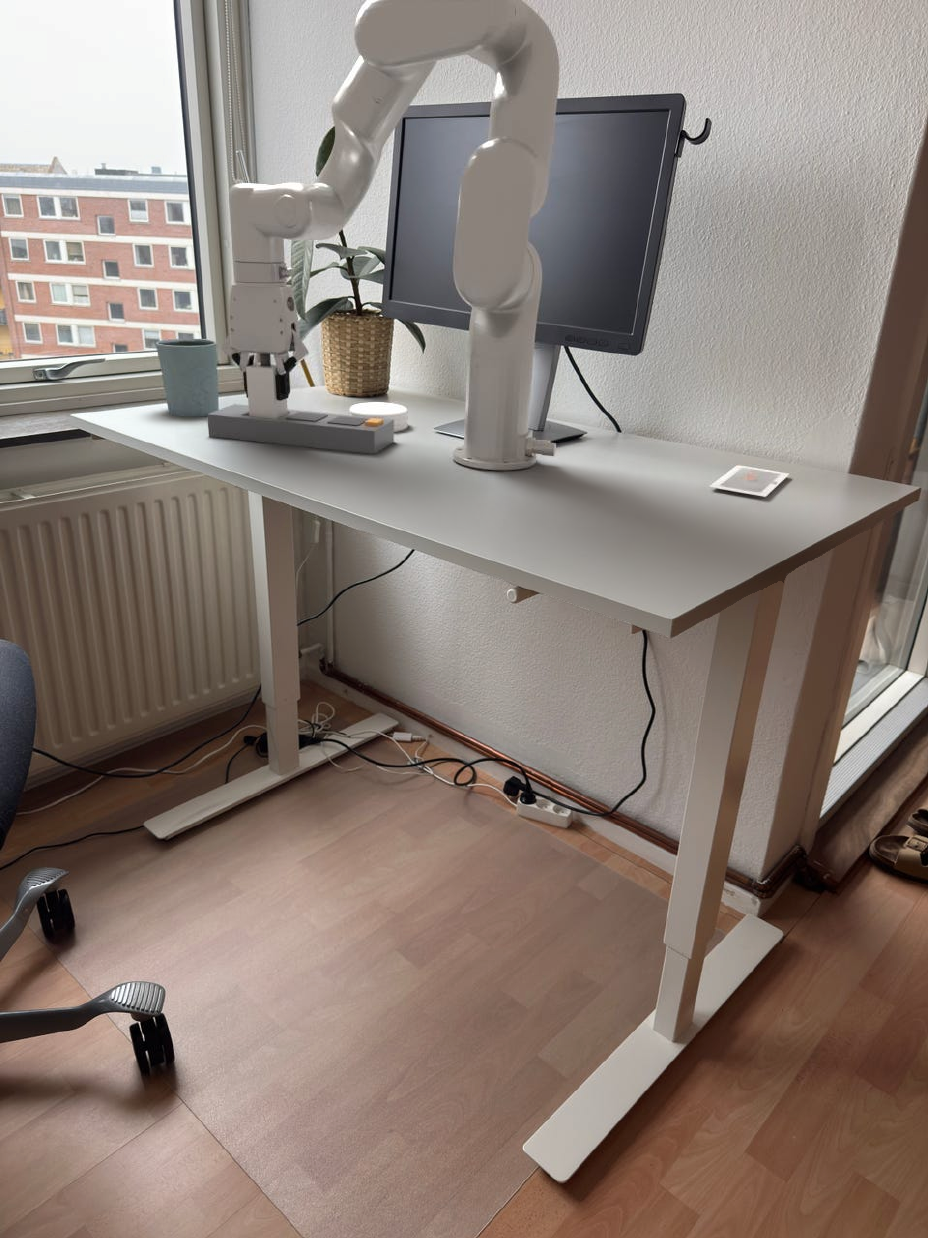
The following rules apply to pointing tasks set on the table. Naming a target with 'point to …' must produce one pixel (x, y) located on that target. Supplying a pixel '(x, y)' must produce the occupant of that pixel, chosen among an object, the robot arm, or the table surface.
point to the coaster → (382, 413)
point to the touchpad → (750, 480)
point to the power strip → (304, 429)
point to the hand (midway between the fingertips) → (267, 396)
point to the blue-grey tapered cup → (189, 376)
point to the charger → (264, 390)
